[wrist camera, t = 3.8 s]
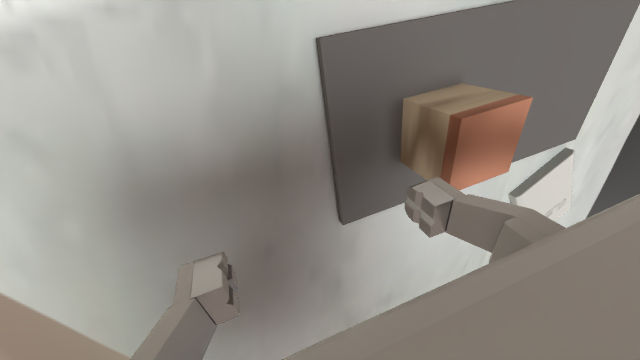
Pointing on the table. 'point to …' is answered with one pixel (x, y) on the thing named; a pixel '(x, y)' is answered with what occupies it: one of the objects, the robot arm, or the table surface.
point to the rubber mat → (455, 68)
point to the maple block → (462, 133)
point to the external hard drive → (548, 187)
